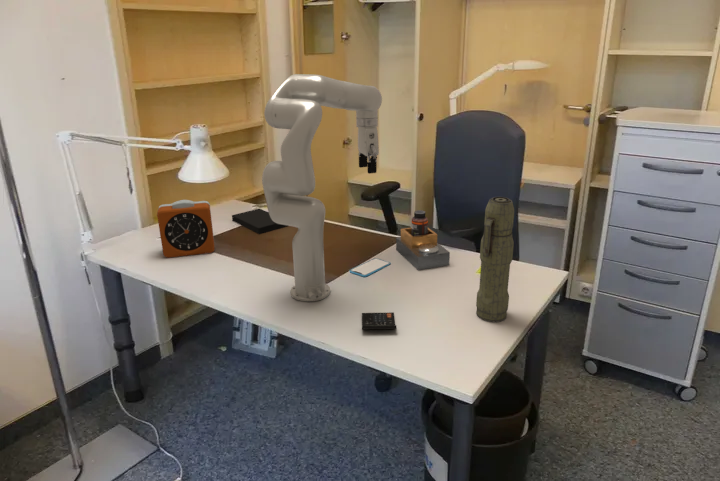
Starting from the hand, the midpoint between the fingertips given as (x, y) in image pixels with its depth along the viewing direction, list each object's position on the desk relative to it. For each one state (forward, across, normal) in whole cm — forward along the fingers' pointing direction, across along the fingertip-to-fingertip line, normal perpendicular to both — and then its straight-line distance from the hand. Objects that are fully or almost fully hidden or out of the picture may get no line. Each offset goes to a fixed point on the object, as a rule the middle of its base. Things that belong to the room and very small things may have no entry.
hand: (367, 170), depth 197 cm
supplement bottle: (+25, -13, -15) cm, 32 cm away
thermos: (+31, -62, -16) cm, 71 cm away
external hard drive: (+31, +43, +35) cm, 63 cm away
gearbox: (+30, -16, -15) cm, 37 cm away
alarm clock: (+31, +20, +65) cm, 75 cm away
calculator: (+31, -56, +16) cm, 66 cm away
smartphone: (+31, -18, +6) cm, 36 cm away
